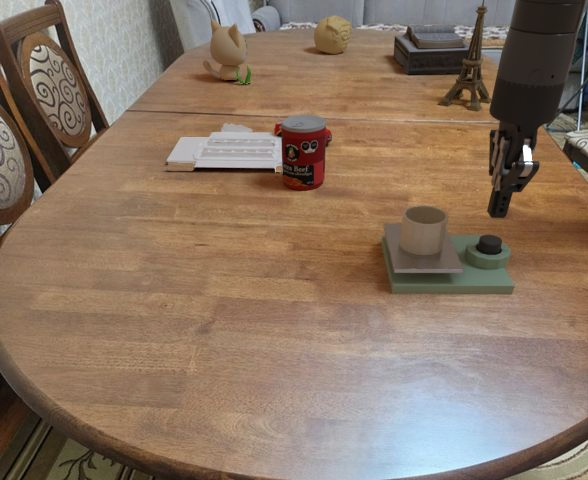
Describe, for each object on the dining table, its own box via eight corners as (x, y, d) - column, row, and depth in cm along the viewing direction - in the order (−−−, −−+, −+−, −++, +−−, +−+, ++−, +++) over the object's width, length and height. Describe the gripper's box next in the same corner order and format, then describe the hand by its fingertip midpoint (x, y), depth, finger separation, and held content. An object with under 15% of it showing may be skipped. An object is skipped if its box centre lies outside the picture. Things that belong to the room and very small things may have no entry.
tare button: (496, 245, 78) (498, 234, 76) (501, 256, 75) (504, 244, 74) (474, 245, 78) (477, 234, 76) (479, 256, 75) (482, 244, 74)
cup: (438, 234, 78) (443, 204, 75) (446, 255, 74) (452, 225, 71) (396, 234, 78) (400, 205, 75) (402, 255, 74) (406, 225, 71)
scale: (492, 243, 83) (496, 225, 81) (519, 294, 73) (525, 275, 71) (380, 243, 84) (382, 225, 82) (391, 294, 73) (394, 275, 71)
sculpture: (339, 57, 179) (341, 19, 172) (307, 53, 184) (308, 16, 177) (355, 50, 186) (357, 14, 180) (324, 47, 191) (325, 11, 184)
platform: (443, 226, 81) (444, 222, 81) (462, 273, 71) (463, 269, 71) (383, 226, 81) (383, 223, 81) (393, 273, 71) (394, 269, 71)
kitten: (262, 81, 157) (260, 21, 147) (236, 88, 151) (232, 26, 142) (228, 72, 165) (223, 15, 155) (202, 79, 159) (196, 20, 150)
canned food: (274, 185, 101) (272, 123, 94) (298, 171, 106) (297, 111, 99) (309, 194, 97) (309, 131, 90) (332, 179, 103) (334, 118, 95)
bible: (464, 55, 179) (470, 21, 172) (473, 76, 158) (480, 38, 152) (392, 54, 182) (396, 20, 175) (392, 74, 161) (395, 36, 155)
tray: (307, 173, 105) (306, 154, 103) (164, 177, 107) (160, 158, 104) (309, 137, 121) (309, 119, 118) (185, 141, 123) (182, 123, 120)
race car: (336, 141, 117) (337, 122, 115) (324, 149, 114) (324, 129, 111) (284, 130, 123) (284, 112, 120) (271, 137, 119) (270, 118, 116)
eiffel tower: (492, 100, 140) (517, -16, 124) (478, 111, 134) (502, -11, 118) (453, 94, 145) (472, -19, 129) (437, 104, 138) (455, -14, 122)
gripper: (588, 89, 57) (540, 239, 68) (545, 60, 67) (510, 194, 78) (515, 89, 57) (479, 239, 68) (484, 60, 67) (457, 194, 78)
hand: (496, 215), depth 73 cm, fingers closed
